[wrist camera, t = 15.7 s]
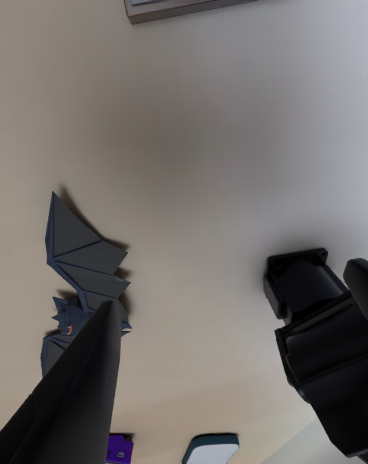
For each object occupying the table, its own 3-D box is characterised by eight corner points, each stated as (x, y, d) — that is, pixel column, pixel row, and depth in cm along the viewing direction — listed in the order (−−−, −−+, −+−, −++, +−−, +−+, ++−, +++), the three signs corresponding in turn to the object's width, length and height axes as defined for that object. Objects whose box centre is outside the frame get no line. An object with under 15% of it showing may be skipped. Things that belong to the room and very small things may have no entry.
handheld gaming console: (51, 456, 44) (129, 466, 46) (64, 423, 49) (135, 433, 51) (52, 471, 49) (123, 479, 51) (64, 439, 54) (129, 448, 55)
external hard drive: (193, 434, 54) (194, 445, 52) (241, 432, 55) (243, 442, 54) (179, 465, 66) (180, 475, 65) (218, 462, 68) (220, 472, 66)
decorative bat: (106, 406, 33) (30, 394, 31) (113, 375, 36) (46, 363, 35) (168, 238, 18) (30, 199, 16) (170, 213, 21) (57, 179, 20)
